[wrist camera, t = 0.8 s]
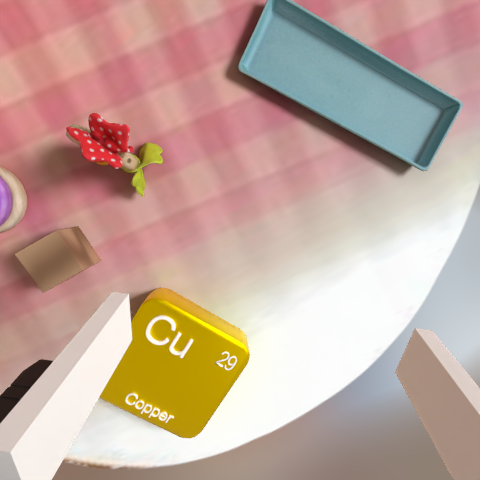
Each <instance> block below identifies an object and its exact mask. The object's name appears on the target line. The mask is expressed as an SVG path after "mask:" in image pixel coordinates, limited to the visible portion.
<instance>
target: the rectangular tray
mask: <svg viewBox="0 0 480 480" xmlns="http://www.w3.org/2000/svg"><path fill="white" fill-rule="evenodd" d="M238 69H239V71H240V72H242V73H244V74H246V75H248V76H249V77H251V78H253V79H255V80H257V81H259V82H261V83H262V84H264V85H266V86H268V87H270V88H272V89H273V90H275V91H277V92H279V93H281V94H282V95H284V96H286V97H288V98H290V99H292V100H293V101H295V102H297V103H299V104H301V105H302V106H304V107H306V108H308V109H310V110H311V111H313V112H315V113H317V114H319V115H321V116H322V117H324V118H326V119H328V120H330V121H331V122H333V123H335V124H337V125H339V126H341V127H342V128H344V129H346V130H348V131H350V132H352V133H354V134H355V135H357V136H359V137H361V138H363V139H365V140H367V141H368V142H370V143H372V144H374V145H376V146H378V147H379V148H381V149H383V150H385V151H387V152H389V153H390V154H392V155H394V156H396V157H398V158H400V159H401V160H403V161H405V162H407V163H409V164H410V165H412V166H414V167H416V168H417V169H419V170H421V171H427V170H428V169H429V167H430V165H431V163H432V162H433V160H434V158H435V156H436V154H437V152H438V150H439V148H440V147H441V145H442V143H443V141H444V139H445V137H446V136H447V134H448V132H449V130H450V128H451V127H452V125H453V123H454V121H455V119H456V118H457V116H458V114H459V112H460V111H461V109H462V107H463V103H462V101H460V100H458V99H457V98H455V97H453V96H451V95H449V94H448V93H446V92H444V91H442V90H441V89H439V88H437V87H436V86H434V85H432V84H431V83H429V82H427V81H426V80H424V79H422V78H420V77H419V76H417V75H415V74H414V73H412V72H410V71H408V70H407V69H405V68H403V67H402V66H400V65H398V64H396V63H395V62H393V61H392V60H390V59H388V58H386V57H385V56H383V55H382V54H380V53H378V52H377V51H375V50H373V49H372V48H370V47H368V46H367V45H365V44H363V43H361V42H360V41H358V40H356V39H355V38H353V37H351V36H350V35H348V34H347V33H345V32H343V31H342V30H340V29H339V28H337V27H335V26H333V25H331V24H330V23H328V22H327V21H325V20H323V19H322V18H320V17H318V16H317V15H315V14H313V13H312V12H310V11H308V10H306V9H305V8H303V7H301V6H300V5H298V4H296V3H295V2H293V1H292V0H267V2H266V4H265V7H264V9H263V11H262V14H261V16H260V18H259V20H258V23H257V25H256V27H255V29H254V32H253V34H252V36H251V38H250V40H249V42H248V45H247V47H246V49H245V51H244V53H243V55H242V58H241V60H240V62H239V65H238Z"/></svg>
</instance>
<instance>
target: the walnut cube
mask: <svg viewBox="0 0 480 480" xmlns="http://www.w3.org/2000/svg"><path fill="white" fill-rule="evenodd" d="M15 255H16V257H17V258H18V259H19V261H20V262H21V263H22V265H23V266H24V268H25V269H26V270H27V272H28V273H29V274H30V276H31V277H32V279H33V280H34V281H35V283H36V284H37V285H38V287H39V288H40V289H41V291H42V292H45V291H47V290H49V289H51V288H53V287H55V286H57V285H58V284H60V283H62V282H64V281H66V280H68V279H70V278H71V277H73V276H75V275H77V274H78V273H80V272H82V271H84V270H85V269H87V268H89V267H91V266H92V265H94V264H96V263H98V262H100V261H101V259H100V258H99V256H98V255H97V253H96V252H95V250H94V249H93V247H92V246H91V244H90V243H89V241H88V240H87V238H86V237H85V236H84V234H83V233H82V231H81V230H80V228H79V227H73V228H68V229H62V230H57V231H54V232H52V233H51V234H49V235H47V236H45V237H44V238H42V239H40V240H38V241H37V242H35V243H33V244H31V245H30V246H28V247H26V248H24V249H23V250H21V251H19V252H17V253H16V254H15Z"/></svg>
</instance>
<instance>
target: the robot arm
mask: <svg viewBox="0 0 480 480" xmlns="http://www.w3.org/2000/svg"><path fill="white" fill-rule="evenodd" d="M131 341H132V329H131V316H130V303H129V294H126V293H118V292H112V293H111V294H110V295H109V297H108V298H107V299H106V300H105V301H104V302H103V304H102V305H101V306H100V307H99V308H98V309H97V311H96V312H95V313H94V314H93V315H92V316H91V318H90V319H89V320H88V321H87V322H86V324H85V325H84V326H83V327H82V328H81V329H80V331H79V332H78V333H77V334H76V335H75V336H74V338H73V339H72V340H71V341H70V342H69V343H68V345H67V346H66V347H65V348H64V349H63V351H62V352H61V353H60V354H59V355H58V356H57V358H56V359H55V360H54V361H50V360H42V359H40V360H39V361H37V362H36V363H34V364H33V365H31V366H30V367H28V368H27V369H25V370H24V371H23V372H22V373H21V374H20V375H19V376H18V377H17V378H16V379H15V381H14V382H13V383H12V384H11V386H10V387H8V388H7V389H6V390H5V391H4V392H3V393H2V394H1V395H0V480H52V478H53V476H54V475H55V473H56V471H57V469H58V468H59V466H60V464H61V462H62V461H63V459H64V457H65V456H66V454H67V452H68V450H69V449H70V447H71V445H72V443H73V442H74V440H75V438H76V436H77V435H78V433H79V431H80V430H81V428H82V426H83V424H84V423H85V421H86V419H87V417H88V416H89V414H90V412H91V410H92V409H93V407H94V405H95V404H96V402H97V400H98V398H99V397H100V395H101V393H102V391H103V390H104V388H105V386H106V384H107V383H108V381H109V379H110V378H111V376H112V374H113V372H114V371H115V369H116V367H117V365H118V364H119V362H120V360H121V358H122V357H123V355H124V353H125V351H126V350H127V348H128V346H129V345H130V343H131ZM395 373H396V374H397V376H398V378H399V380H400V382H401V384H402V386H403V387H404V389H405V391H406V393H407V395H408V397H409V399H410V400H411V402H412V404H413V406H414V408H415V410H416V412H417V413H418V415H419V417H420V419H421V421H422V423H423V424H424V426H425V428H426V430H427V432H428V434H429V436H430V437H431V439H432V441H433V443H434V445H435V447H436V448H437V450H438V452H439V454H440V456H441V458H442V459H443V461H444V463H445V465H446V467H447V469H448V471H449V473H450V475H451V476H452V478H453V480H480V388H479V387H478V386H477V385H476V383H475V382H474V381H473V380H472V378H471V377H470V376H469V375H468V374H467V372H466V371H465V370H464V369H463V367H462V366H461V365H460V364H459V363H458V361H457V360H456V359H455V358H454V357H453V355H452V354H451V353H450V352H449V350H448V349H447V348H446V347H445V346H444V344H443V343H442V342H441V341H440V339H439V338H438V337H437V336H436V335H435V333H434V332H433V331H432V330H425V329H416V328H415V330H414V332H413V334H412V336H411V338H410V340H409V343H408V345H407V347H406V349H405V352H404V354H403V356H402V358H401V361H400V363H399V365H398V367H397V370H396V372H395Z"/></svg>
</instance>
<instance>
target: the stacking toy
mask: <svg viewBox="0 0 480 480" xmlns="http://www.w3.org/2000/svg"><path fill="white" fill-rule="evenodd" d="M26 209H27V195H26V192H25V189H24V187H23V185H22V183H21V182H20V180H19V179H18V178H17V177H16V176H15V175H14V174H12V173H11V172H10V171H8V170H6V169H4V168H2V167H0V232H4V231H7V230H9V229H11V228H13V227H14V226H16V225H17V224H18V223H19V222H20V221H21V220H22V218H23V217H24V215H25V212H26Z"/></svg>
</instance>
